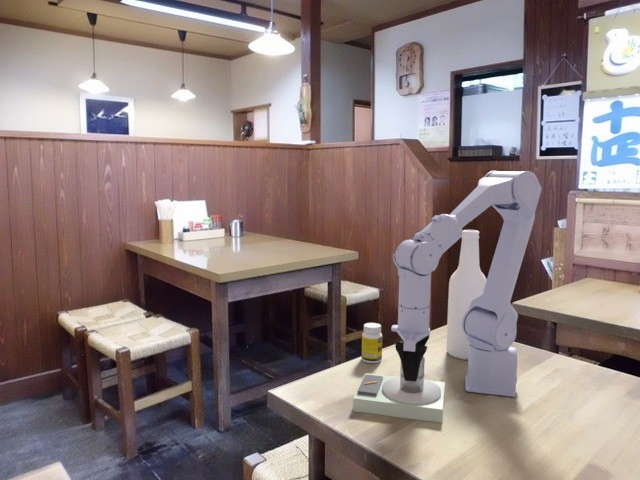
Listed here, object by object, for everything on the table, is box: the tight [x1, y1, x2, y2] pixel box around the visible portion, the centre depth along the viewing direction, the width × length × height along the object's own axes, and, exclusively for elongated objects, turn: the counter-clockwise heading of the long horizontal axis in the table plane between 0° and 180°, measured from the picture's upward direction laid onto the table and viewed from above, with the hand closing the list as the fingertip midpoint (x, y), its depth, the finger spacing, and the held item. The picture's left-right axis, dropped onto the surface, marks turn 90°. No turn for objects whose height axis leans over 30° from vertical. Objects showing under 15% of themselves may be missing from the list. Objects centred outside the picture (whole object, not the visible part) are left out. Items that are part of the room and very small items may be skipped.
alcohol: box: [445, 229, 487, 361], centre depth 121 cm, size 9×9×30 cm
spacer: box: [399, 356, 425, 393], centre depth 96 cm, size 4×4×6 cm
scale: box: [352, 373, 446, 424], centre depth 98 cm, size 16×12×3 cm
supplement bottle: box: [361, 322, 383, 364], centre depth 119 cm, size 5×5×8 cm
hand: (411, 375), depth 96 cm, fingers closed on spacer, 4 cm apart
